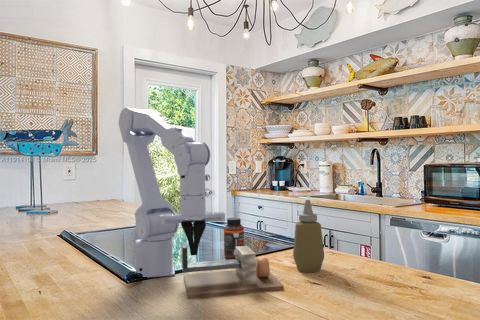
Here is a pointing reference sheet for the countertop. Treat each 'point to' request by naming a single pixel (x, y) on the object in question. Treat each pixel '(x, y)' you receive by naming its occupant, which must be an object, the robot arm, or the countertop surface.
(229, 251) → the supplement bottle
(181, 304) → the countertop surface
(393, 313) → the countertop surface
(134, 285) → the countertop surface
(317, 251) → the squeeze bottle
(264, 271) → the block
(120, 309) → the countertop surface
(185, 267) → the grey l-shaped bar
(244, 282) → the stand
